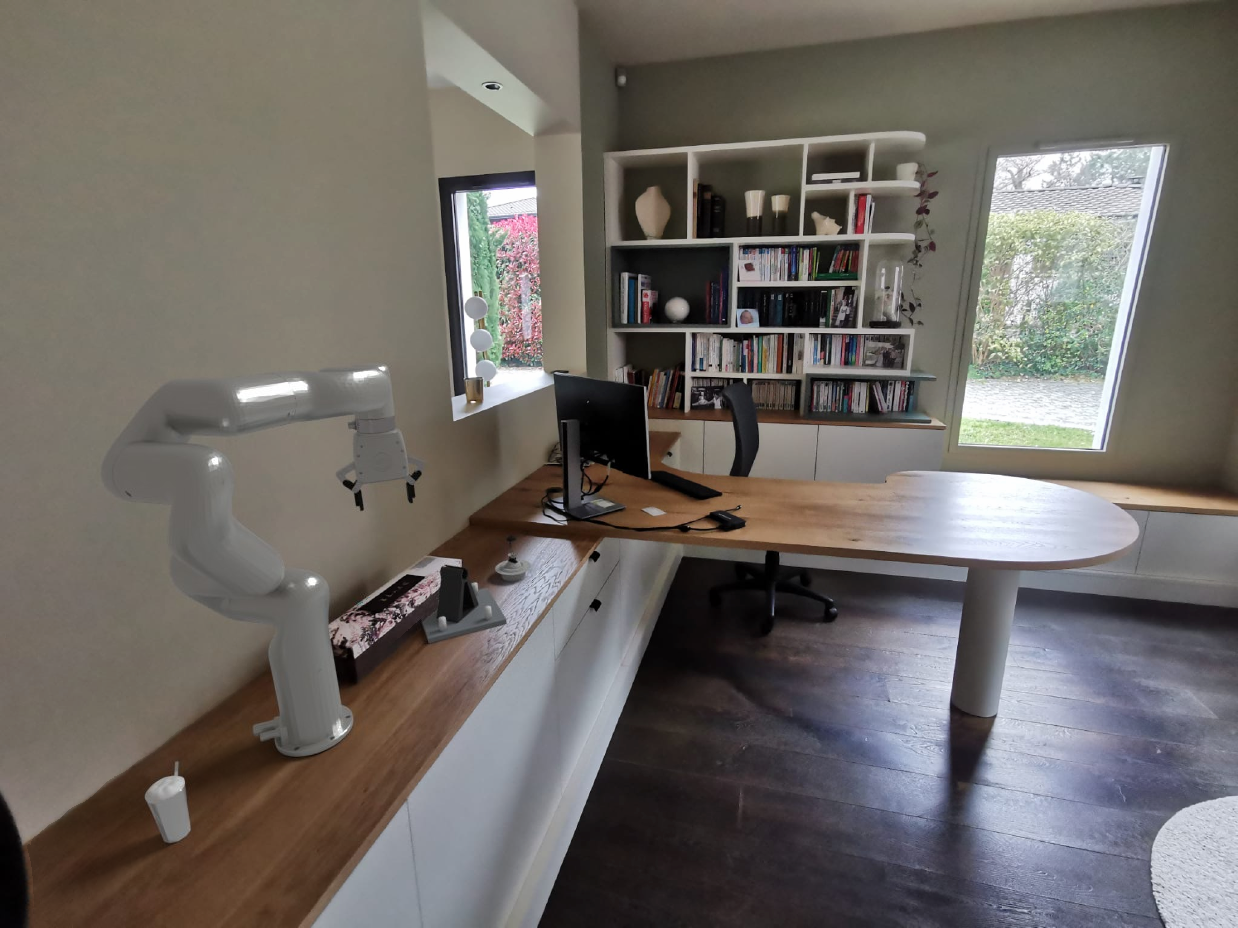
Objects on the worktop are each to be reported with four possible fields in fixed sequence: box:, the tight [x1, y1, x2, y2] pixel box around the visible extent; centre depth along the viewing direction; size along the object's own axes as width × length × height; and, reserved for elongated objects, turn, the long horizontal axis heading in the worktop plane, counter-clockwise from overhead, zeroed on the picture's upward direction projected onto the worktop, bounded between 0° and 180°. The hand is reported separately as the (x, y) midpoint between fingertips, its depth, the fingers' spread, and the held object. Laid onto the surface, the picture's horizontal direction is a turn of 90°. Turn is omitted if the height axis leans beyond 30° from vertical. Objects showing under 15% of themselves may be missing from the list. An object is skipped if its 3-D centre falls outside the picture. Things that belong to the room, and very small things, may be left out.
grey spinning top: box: [494, 534, 532, 582], centre depth 164 cm, size 12×10×10 cm
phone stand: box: [437, 564, 479, 623], centre depth 143 cm, size 9×6×12 cm, turn 160°
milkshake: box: [144, 761, 191, 844], centre depth 86 cm, size 4×5×10 cm
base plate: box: [420, 582, 508, 644], centre depth 145 cm, size 18×18×4 cm
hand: (386, 505), depth 125 cm, fingers open, 9 cm apart
